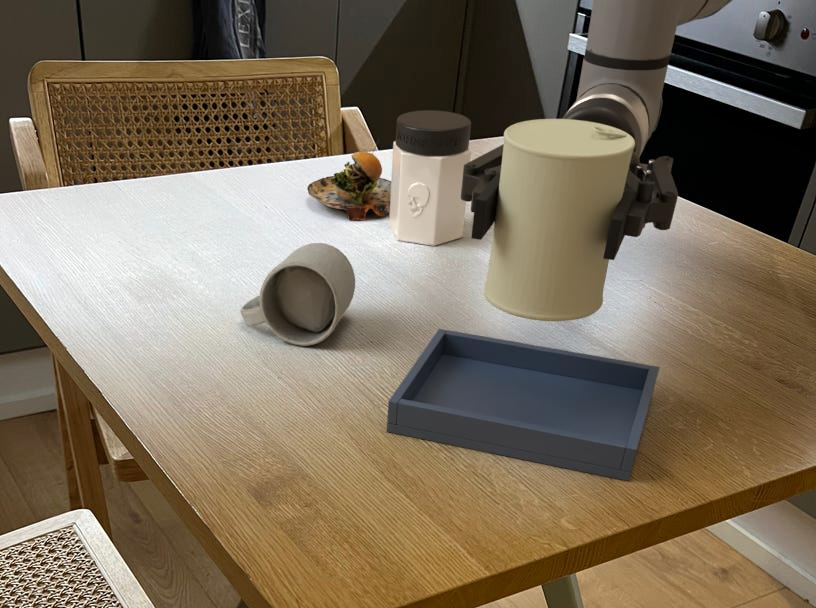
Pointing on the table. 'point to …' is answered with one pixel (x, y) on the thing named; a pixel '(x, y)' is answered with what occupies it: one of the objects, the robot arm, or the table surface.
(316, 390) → the table surface
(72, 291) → the table surface
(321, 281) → the ceramic mug
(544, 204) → the can
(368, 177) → the burger
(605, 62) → the robot arm
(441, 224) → the jar
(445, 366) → the tray
